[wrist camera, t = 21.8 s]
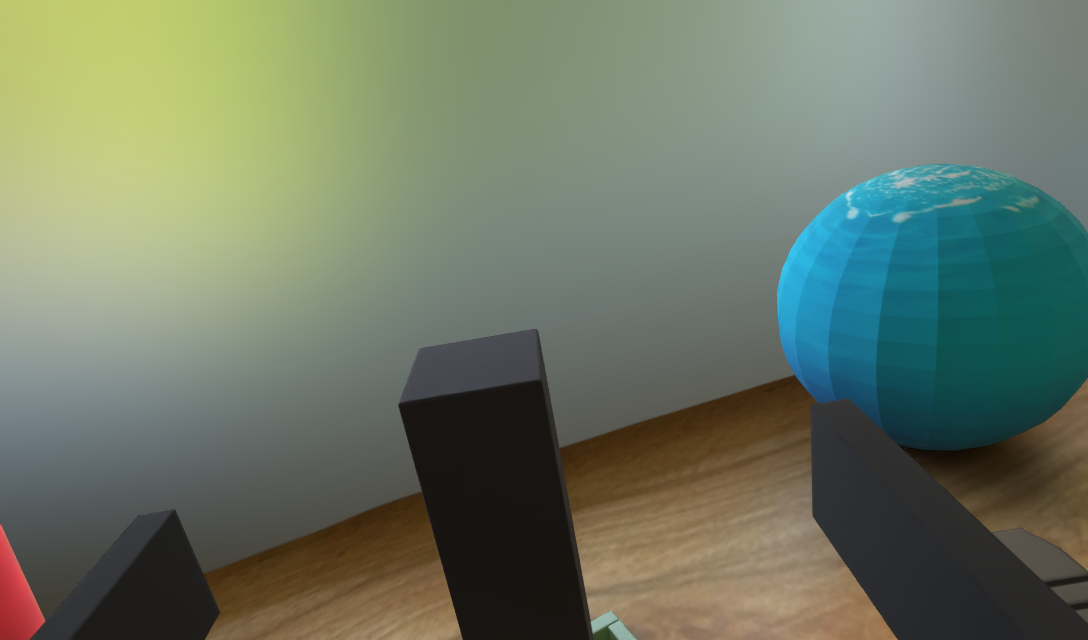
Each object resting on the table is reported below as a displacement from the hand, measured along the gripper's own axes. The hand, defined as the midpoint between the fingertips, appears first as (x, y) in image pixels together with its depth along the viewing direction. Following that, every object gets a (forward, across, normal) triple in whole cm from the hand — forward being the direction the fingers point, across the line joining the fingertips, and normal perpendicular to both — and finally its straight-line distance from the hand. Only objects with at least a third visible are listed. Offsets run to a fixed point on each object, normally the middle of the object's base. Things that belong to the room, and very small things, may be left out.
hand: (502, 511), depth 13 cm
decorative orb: (+20, +21, -14) cm, 33 cm away
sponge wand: (0, 0, -13) cm, 13 cm away
